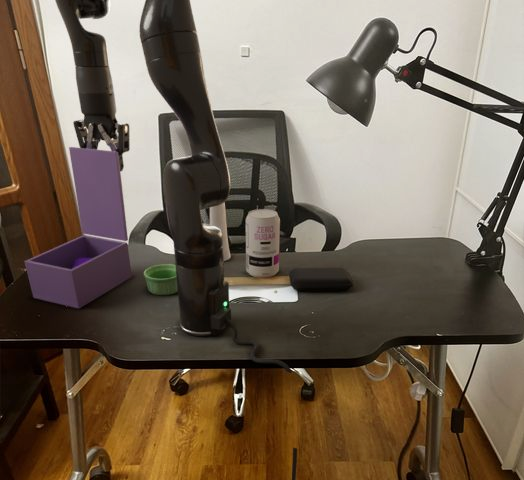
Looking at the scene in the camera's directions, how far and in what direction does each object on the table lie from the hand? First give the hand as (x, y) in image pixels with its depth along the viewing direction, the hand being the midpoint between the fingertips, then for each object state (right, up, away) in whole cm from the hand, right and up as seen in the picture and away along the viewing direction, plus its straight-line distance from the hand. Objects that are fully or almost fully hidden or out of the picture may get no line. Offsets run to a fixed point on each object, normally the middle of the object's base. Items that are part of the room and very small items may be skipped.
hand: (107, 169), depth 121 cm
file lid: (-2, -6, -1) cm, 7 cm away
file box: (-6, -27, +2) cm, 28 cm away
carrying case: (+50, -26, +4) cm, 57 cm away
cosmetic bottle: (+25, -17, +18) cm, 35 cm away
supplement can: (+36, -23, +10) cm, 44 cm away
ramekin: (+13, -28, +1) cm, 31 cm away
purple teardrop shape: (-6, -27, +1) cm, 27 cm away
